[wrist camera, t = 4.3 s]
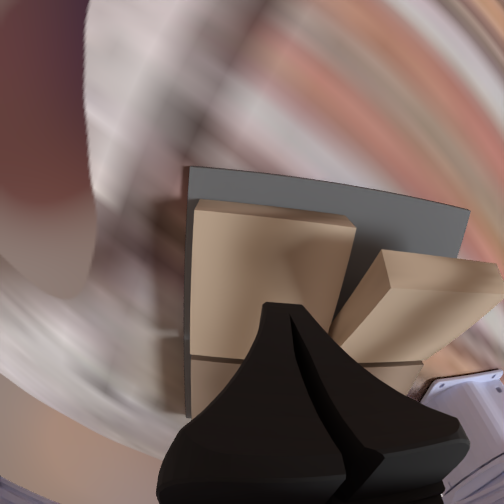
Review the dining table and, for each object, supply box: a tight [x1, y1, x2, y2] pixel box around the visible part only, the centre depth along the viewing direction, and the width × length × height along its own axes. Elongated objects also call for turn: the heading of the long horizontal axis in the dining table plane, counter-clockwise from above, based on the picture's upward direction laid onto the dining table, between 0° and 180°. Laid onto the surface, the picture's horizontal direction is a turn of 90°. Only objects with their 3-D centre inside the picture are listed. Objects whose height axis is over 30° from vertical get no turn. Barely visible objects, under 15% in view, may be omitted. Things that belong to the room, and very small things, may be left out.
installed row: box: [191, 354, 424, 420], centre depth 20 cm, size 15×8×2 cm, turn 83°
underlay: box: [184, 166, 471, 418], centre depth 19 cm, size 16×18×1 cm
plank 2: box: [328, 249, 504, 363], centre depth 15 cm, size 7×8×2 cm
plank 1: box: [190, 199, 356, 359], centre depth 16 cm, size 7×8×2 cm
